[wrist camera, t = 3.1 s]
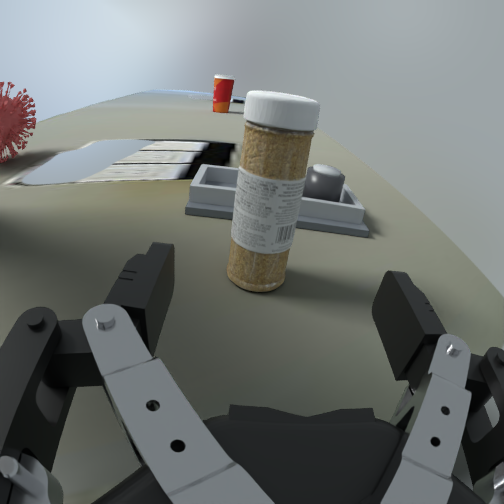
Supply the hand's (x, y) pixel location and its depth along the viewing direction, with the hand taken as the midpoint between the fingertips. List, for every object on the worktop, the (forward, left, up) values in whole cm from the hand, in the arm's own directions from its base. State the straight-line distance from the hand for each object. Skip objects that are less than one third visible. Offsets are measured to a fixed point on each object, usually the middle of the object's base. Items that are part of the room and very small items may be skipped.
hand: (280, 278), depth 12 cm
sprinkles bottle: (0, +11, -8) cm, 13 cm away
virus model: (-46, +36, -8) cm, 59 cm away
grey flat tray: (+2, +26, -8) cm, 27 cm away
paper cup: (-13, +111, -8) cm, 112 cm away
